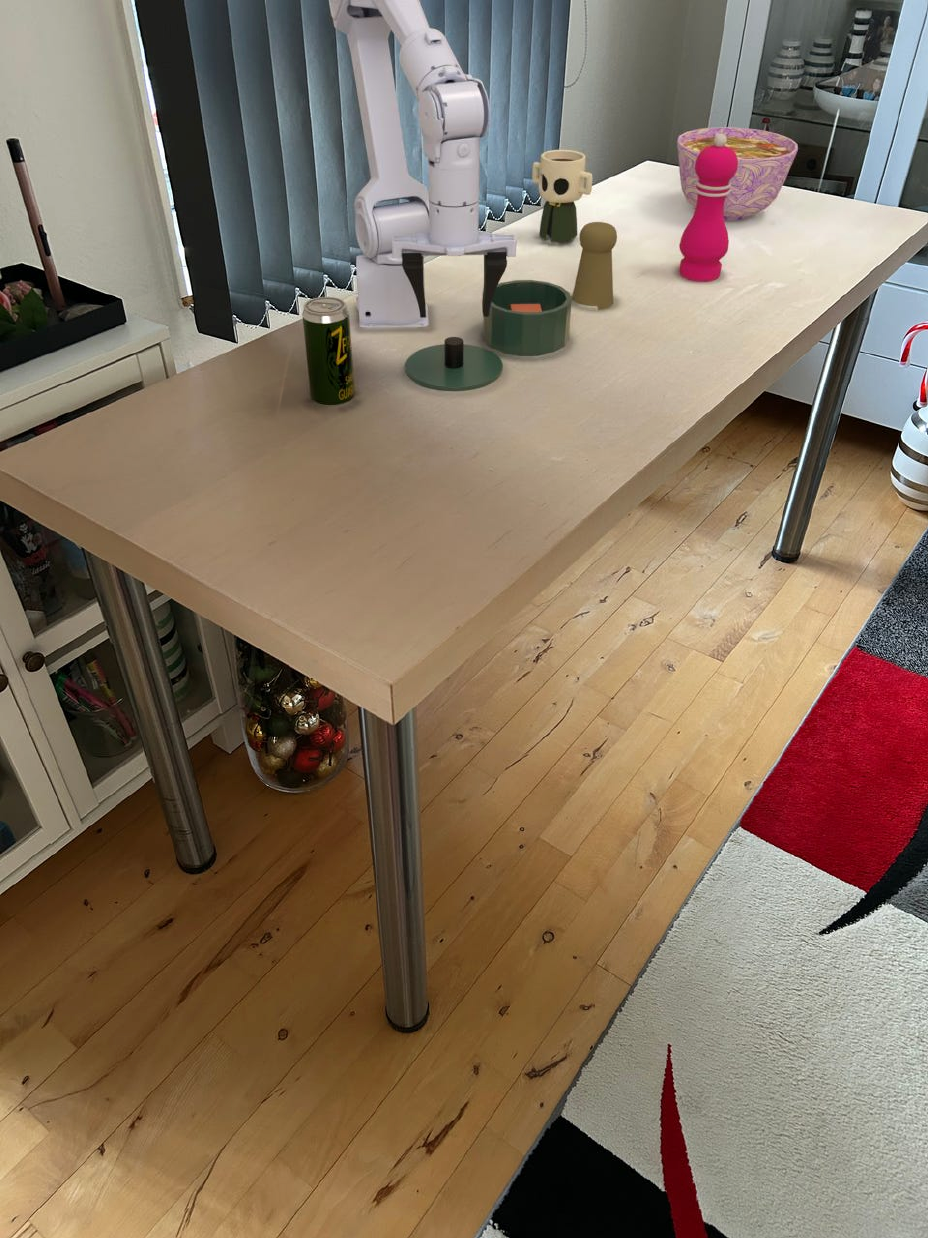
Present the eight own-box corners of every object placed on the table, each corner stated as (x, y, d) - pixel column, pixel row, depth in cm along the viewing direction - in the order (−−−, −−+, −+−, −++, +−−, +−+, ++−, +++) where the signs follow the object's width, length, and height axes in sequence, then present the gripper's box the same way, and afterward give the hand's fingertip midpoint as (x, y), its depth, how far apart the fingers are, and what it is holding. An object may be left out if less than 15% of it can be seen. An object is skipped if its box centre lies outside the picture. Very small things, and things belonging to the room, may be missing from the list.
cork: (611, 311, 143) (619, 233, 136) (569, 307, 144) (575, 230, 137) (615, 295, 148) (622, 218, 141) (574, 291, 149) (580, 215, 142)
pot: (485, 360, 131) (486, 314, 127) (480, 324, 140) (481, 280, 136) (572, 358, 132) (576, 313, 128) (562, 322, 140) (565, 279, 136)
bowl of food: (650, 199, 182) (658, 130, 175) (752, 191, 186) (764, 123, 178) (696, 236, 167) (707, 163, 160) (805, 227, 171) (821, 154, 163)
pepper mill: (670, 278, 153) (690, 137, 140) (681, 262, 158) (701, 124, 145) (718, 285, 151) (742, 143, 138) (727, 269, 156) (751, 130, 143)
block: (511, 344, 134) (512, 316, 131) (509, 332, 137) (510, 303, 134) (541, 344, 134) (543, 315, 131) (538, 331, 137) (540, 303, 135)
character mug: (518, 238, 166) (521, 154, 158) (541, 226, 171) (545, 144, 162) (575, 252, 161) (582, 166, 153) (597, 239, 166) (604, 155, 157)
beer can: (303, 407, 121) (293, 311, 113) (321, 387, 125) (312, 293, 117) (345, 413, 120) (337, 317, 112) (362, 393, 124) (355, 299, 116)
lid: (405, 396, 123) (404, 363, 121) (405, 351, 133) (404, 320, 130) (506, 394, 124) (507, 361, 121) (498, 350, 133) (499, 319, 131)
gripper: (390, 211, 111) (395, 328, 120) (520, 209, 112) (515, 326, 121) (390, 191, 117) (395, 304, 126) (514, 190, 117) (511, 302, 126)
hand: (454, 313), depth 123 cm, fingers open, 7 cm apart
